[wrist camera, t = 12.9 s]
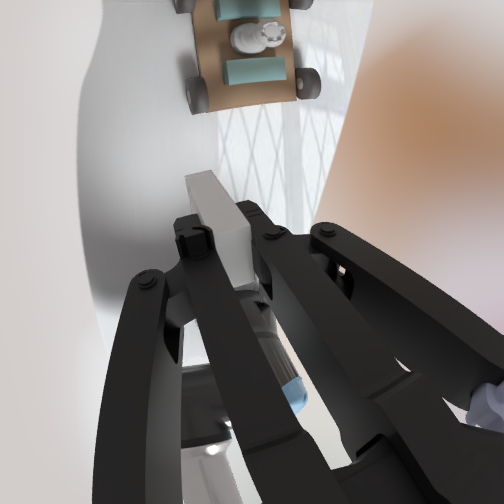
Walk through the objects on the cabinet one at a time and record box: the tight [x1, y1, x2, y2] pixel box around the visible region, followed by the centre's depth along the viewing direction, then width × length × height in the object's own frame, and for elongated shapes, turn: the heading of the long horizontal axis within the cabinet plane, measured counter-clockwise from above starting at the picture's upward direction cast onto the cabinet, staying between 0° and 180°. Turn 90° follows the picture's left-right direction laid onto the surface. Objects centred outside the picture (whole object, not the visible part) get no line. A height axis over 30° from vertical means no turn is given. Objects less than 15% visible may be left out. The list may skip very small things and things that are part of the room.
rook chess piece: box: [230, 19, 286, 56], centre depth 23 cm, size 4×4×8 cm
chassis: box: [174, 0, 321, 115], centre depth 25 cm, size 18×16×4 cm
